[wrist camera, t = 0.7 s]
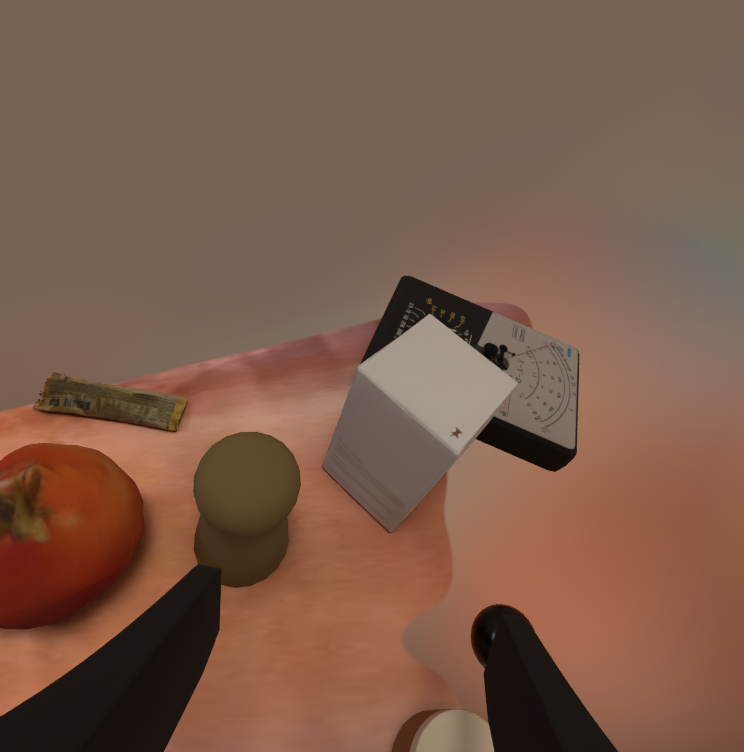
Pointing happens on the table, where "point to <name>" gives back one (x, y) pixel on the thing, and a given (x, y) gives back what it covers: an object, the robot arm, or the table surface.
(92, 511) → the tomato
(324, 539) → the table surface
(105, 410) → the snack bar
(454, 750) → the cake
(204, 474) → the pepper shaker
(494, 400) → the white packaging box
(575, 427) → the multimeter
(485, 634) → the lever with black knob
